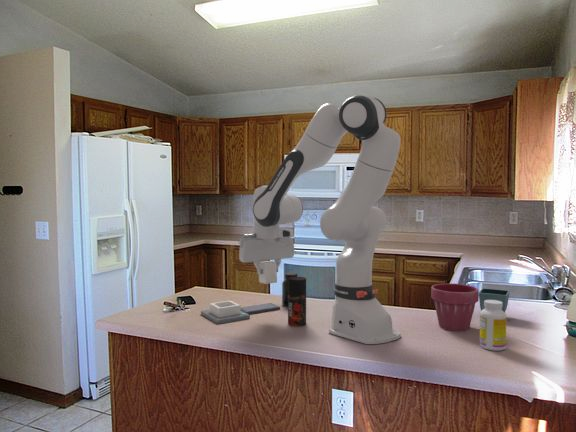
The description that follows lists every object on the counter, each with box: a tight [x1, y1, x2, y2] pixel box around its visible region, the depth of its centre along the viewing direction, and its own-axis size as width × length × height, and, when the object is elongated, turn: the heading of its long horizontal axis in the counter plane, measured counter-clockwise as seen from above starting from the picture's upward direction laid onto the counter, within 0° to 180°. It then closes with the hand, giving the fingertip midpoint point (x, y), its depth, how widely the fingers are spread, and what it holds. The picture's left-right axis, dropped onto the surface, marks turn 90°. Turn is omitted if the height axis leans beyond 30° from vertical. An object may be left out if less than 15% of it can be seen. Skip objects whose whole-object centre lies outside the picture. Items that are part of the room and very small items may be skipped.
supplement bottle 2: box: [479, 300, 507, 352], centre depth 126 cm, size 7×7×13 cm
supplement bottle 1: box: [281, 272, 299, 307], centre depth 173 cm, size 7×7×12 cm
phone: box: [240, 302, 281, 315], centre depth 166 cm, size 14×7×1 cm, turn 123°
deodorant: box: [287, 276, 307, 327], centre depth 148 cm, size 6×6×15 cm
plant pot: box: [430, 283, 479, 332], centre depth 145 cm, size 14×14×13 cm
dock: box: [200, 300, 251, 325], centre depth 158 cm, size 14×12×4 cm
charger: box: [258, 260, 278, 285], centre depth 157 cm, size 5×4×7 cm
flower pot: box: [478, 287, 510, 313], centre depth 156 cm, size 9×9×9 cm
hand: (267, 273), depth 156 cm, fingers closed on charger, 4 cm apart
